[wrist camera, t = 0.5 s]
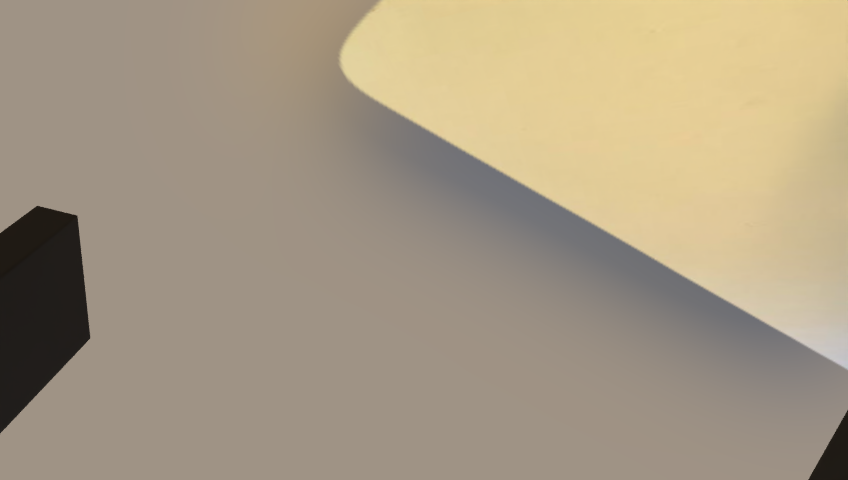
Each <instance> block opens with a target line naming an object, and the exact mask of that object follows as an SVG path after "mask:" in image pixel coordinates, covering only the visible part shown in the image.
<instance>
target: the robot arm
mask: <svg viewBox="0 0 848 480" xmlns="http://www.w3.org/2000/svg"><path fill="white" fill-rule="evenodd" d="M89 339H90V332H89V322H88V313H87V303H86V293H85V285H84V274H83V265H82V256H81V246H80V237H79V227H78V218H77V216H76V215H72V214H68V213H64V212H60V211H56V210H52V209H48V208H44V207H40V206H36V207H35V208H34V209H32V210H31V211H30V212H28V213H27V214H26V215H24V216H23V217H21V218H20V219H19V220H17V221H16V222H15V223H13V224H12V225H11V226H9V227H8V228H7V229H5V230H4V231H3V232H1V233H0V433H1V432H2V431H3V430H4V429H5V428H6V427H7V426H8V425H9V424H10V423H11V421H12V420H13V419H14V418H15V417H16V416H17V415H18V414H19V413H20V412H21V411H22V410H23V409H24V408H25V407H26V406H27V405H28V403H29V402H30V401H31V400H32V399H33V398H34V397H35V396H36V395H37V394H38V393H39V392H40V391H41V390H42V389H43V388H44V387H45V386H46V384H47V383H48V382H49V381H50V380H51V379H52V378H53V377H54V376H55V375H56V374H57V373H58V372H59V371H60V370H61V369H62V368H63V366H64V365H65V364H66V363H67V362H68V361H69V360H70V359H71V358H72V357H73V356H74V355H75V354H76V353H77V352H78V351H79V350H80V349H81V347H82V346H83V345H84V344H85V343H86V342H87V341H88V340H89ZM809 480H848V411H847V413H846V414H845V416H844V418H843V420H842V421H841V423H840V425H839V427H838V429H837V430H836V432H835V434H834V435H833V437H832V439H831V441H830V442H829V444H828V446H827V448H826V450H825V451H824V453H823V455H822V457H821V458H820V460H819V462H818V464H817V465H816V467H815V469H814V471H813V472H812V474H811V476H810V478H809Z"/></svg>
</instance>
